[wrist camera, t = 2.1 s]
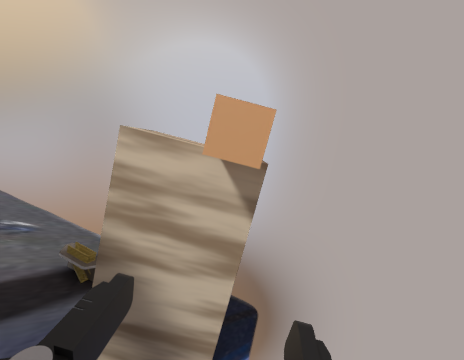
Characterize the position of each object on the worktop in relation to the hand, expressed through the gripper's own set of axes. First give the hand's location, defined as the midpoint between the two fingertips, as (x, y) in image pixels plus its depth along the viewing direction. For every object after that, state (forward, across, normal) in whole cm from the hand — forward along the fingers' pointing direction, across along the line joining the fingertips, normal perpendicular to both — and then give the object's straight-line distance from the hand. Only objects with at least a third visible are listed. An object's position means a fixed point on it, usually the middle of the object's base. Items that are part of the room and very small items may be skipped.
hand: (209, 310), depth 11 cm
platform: (+24, +28, +29) cm, 47 cm away
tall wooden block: (+15, +8, +28) cm, 33 cm away
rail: (+19, +2, -4) cm, 20 cm away
